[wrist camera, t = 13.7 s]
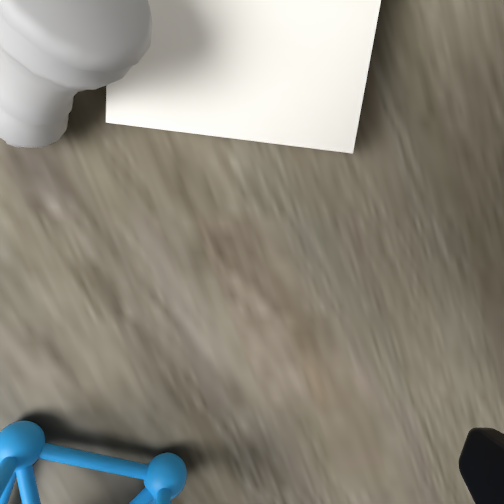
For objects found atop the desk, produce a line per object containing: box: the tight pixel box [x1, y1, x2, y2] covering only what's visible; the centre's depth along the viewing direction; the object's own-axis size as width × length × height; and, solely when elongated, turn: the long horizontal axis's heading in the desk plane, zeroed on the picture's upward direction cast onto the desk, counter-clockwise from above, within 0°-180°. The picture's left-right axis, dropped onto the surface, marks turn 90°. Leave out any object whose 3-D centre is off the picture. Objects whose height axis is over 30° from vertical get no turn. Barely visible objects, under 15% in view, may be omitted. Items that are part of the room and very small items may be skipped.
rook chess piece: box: [0, 0, 153, 148], centre depth 13 cm, size 4×4×8 cm
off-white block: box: [106, 0, 381, 153], centre depth 16 cm, size 10×10×3 cm
